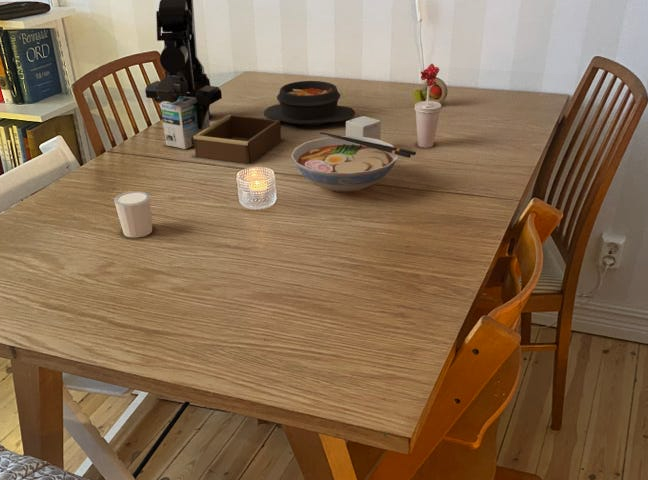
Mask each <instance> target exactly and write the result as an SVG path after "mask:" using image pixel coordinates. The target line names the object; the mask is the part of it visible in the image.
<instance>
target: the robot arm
mask: <svg viewBox="0 0 648 480" xmlns="http://www.w3.org/2000/svg"><path fill="white" fill-rule="evenodd" d="M158 3H159V4H158V10H156V12H155V19H156V41H157V42H160V41H161V42H163V43H164V44H163V45H164V47H163V49H162V50H161V53H160V55H159V63H160V65H161V68H162V69H163V70H164V78H163V79H161V80H156V81H153V82H151V83H150V84H147V85H146V86H145V89H144V92H145V98H147V99H153V102H155V103H157V104H159V105H161V103H160V102H163V101H167V102H170V103H174V102H176V101H177V100H178V98H179V97H183V96H186V97H196V100H197V101H198V102H196V103H194V104H193V105H194V107H195V108H196V113H197V123H198V128H199V129H202V127H203V124H204V120H205V117H206V114H207V111H208V113H209V119H210V118H212V116H213V114H211V112H210V106H211V105H212V104H214V103H216V102H217V101H219V100H222V99H223V96H222V90H221V89H220V87H219V86H214V85H211V82H210V78H208V74H207V73H205V67H204V66H203V63H202V62H201V61H200V59H199V58H198V47H197V36H196V35H197V34H196V23H195V10H194V0H159V2H158ZM187 92H189V93H187Z"/></svg>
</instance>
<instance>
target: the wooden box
mask: <svg viewBox="0 0 648 480" xmlns="http://www.w3.org/2000/svg"><path fill="white" fill-rule="evenodd" d="M232 136H235V137H241V138H242V137H243V138H249V139H248V140H238V139H230V137H232ZM193 138H194V145H193V146H194V152H195V157H197V158H203V159H211V160H212V159H213V160H219V161H226V162H234V163H240V164H248V165H249V164H251V163H253V162H254V161H255V160H256V159H258V158H259V157H261V155H263V154H264V153H266V152H267V151H269V150H270V149H271V148H273V147H274V146H275V145H277V144H278V143H279V142H281V141H282V128H281V121H280V120H274V119H269V118H263V117H253V116H246V115H245V116H243V115H236V114H235V115H234V114H226V116H223V118H220V119H219V120H217V121H216V122H214V123H212V124H211V125H210V126H209V127H207V128H206V129H204V130H203V131H201V132H199V133H198V134H196V135H194V136H193Z"/></svg>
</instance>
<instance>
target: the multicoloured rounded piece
mask: <svg viewBox="0 0 648 480" xmlns="http://www.w3.org/2000/svg"><path fill="white" fill-rule="evenodd" d="M439 72H440V68H439V67H438V66H435V65H434V63H430V64H429V66H428V67H427V68H425V69H423V71H420V74H421V76H420V79H421V80H422V81H424V83H422V86H421V88H420V89H416V90H414V91H413V92H412V96H413V97H414V101H413V102H414V105H415V104H416V103H418V102H422V101H427V88H428V86H430V94H429V101H433V102H438V103H440V104H441V105H442V103H443V102H444V101H445V100H446V98H447V96H448V92H449V91H448V86H447V84H446V82H445V81H444V80H443V79H441V78H440V77H437V75H438V74H439Z"/></svg>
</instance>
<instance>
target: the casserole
mask: <svg viewBox="0 0 648 480" xmlns="http://www.w3.org/2000/svg"><path fill="white" fill-rule="evenodd" d="M341 96H342V95H341V93H340V92H339V91H338V88H337V86H336V84H333V83H331V82H327V81H320V80H302V81H294V82H291V83H287V84H284V85H283V86H281V87H280V89H279V93H278V94H277V96H276V100H277V101H278V102H279V104H273V105H271V106H269V107H267V108H266V109H265V110H264V111H263V113H262V115H263V117H264V118H265V119H272V120H280V122H285V123H289V124H292V125H296V126H302V127H312V126H313V127H314V126H319V125H323V124H326V123H339V122H346V121H349V120H351V119H353V117H354V116H356V110H355V109H354V108H353V107H349V106H344V105H338V102H339V100H340V98H341Z"/></svg>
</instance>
